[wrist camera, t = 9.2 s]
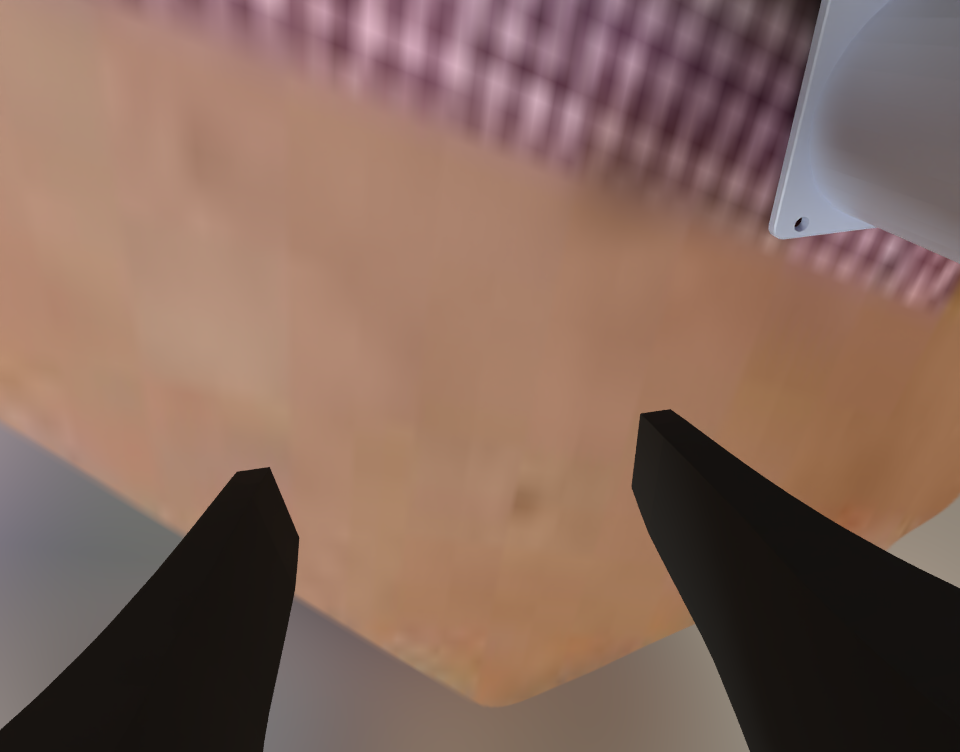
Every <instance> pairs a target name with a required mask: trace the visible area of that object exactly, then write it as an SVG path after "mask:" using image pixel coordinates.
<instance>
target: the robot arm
mask: <svg viewBox="0 0 960 752" xmlns="http://www.w3.org/2000/svg"><path fill="white" fill-rule="evenodd" d="M800 218H802V221H801V223H800V224H799V225H798V226H797V227H795V223H796V221H797V220H799V219H800ZM794 227H795V228H794ZM870 228H880V229H882V230H884V231H887V232H889V233H891V234H893V235H896V236H898V237H900V238H903V239H905V240H907V241H909V242H912V243H914V244H916V245H918V246H921V247H923V248H925V249H928V250H930V251H932V252H934V253H937V254H939V255H941V256H944V257H946V258H948V259H950V260H953V261H955V262H957V263H959V264H960V0H822V1H821V5H820V9H819V14H818V18H817V22H816V26H815V31H814V35H813V39H812V43H811V48H810V52H809V56H808V60H807V65H806V69H805V73H804V77H803V82H802V86H801V90H800V95H799V99H798V103H797V107H796V112H795V116H794V120H793V124H792V129H791V133H790V137H789V141H788V146H787V150H786V154H785V158H784V163H783V167H782V171H781V175H780V180H779V184H778V188H777V192H776V197H775V201H774V205H773V209H772V214H771V218H770V222H769V231H770V234H772V235H773V236H775V237H777V238H778V239H790V238H798V237H806V236H814V235H822V234H830V233H838V232H846V231H854V230H862V229H870ZM632 490H633V492H634V495H635V498H636V501H637V504H638V506H639V509H640V512H641V515H642V517H643V520H644V522H645V525H646V528H647V530H648V533H649V535H650V537H651V539H652V541H653V543H654V545H655V547H656V549H657V551H658V553H659V555H660V557H661V559H662V561H663V562H664V564H665V566H666V568H667V570H668V572H669V574H670V576H671V578H672V580H673V582H674V584H675V586H676V587H677V589H678V591H679V593H680V595H681V597H682V599H683V601H684V603H685V605H686V607H687V609H688V610H689V612H690V614H691V616H692V618H693V620H694V622H695V624H696V626H697V628H698V630H699V631H700V633H701V635H702V637H703V639H704V641H705V644H706V646H707V648H708V650H709V652H710V654H711V656H712V658H713V660H714V663H715V665H716V667H717V670H718V672H719V675H720V677H721V680H722V682H723V685H724V687H725V689H726V692H727V694H728V697H729V699H730V702H731V704H732V707H733V709H734V711H735V714H736V716H737V719H738V722H739V724H740V727H741V729H742V732H743V734H744V737H745V740H746V742H747V745H748V747H749V750H750V752H960V588H958V587H956V586H954V585H952V584H950V583H948V582H946V581H944V580H942V579H940V578H937V577H935V576H933V575H931V574H929V573H927V572H925V571H923V570H921V569H919V568H917V567H915V566H913V565H911V564H909V563H907V562H905V561H903V560H902V559H900V558H897V557H896V556H894V555H892V554H890V553H888V552H887V551H885V550H883V549H881V548H879V547H877V546H876V545H874V544H872V543H870V542H868V541H867V540H865V539H863V538H861V537H859V536H858V535H856V534H854V533H852V532H850V531H849V530H847V529H845V528H843V527H842V526H840V525H838V524H837V523H835V522H833V521H832V520H830V519H828V518H827V517H825V516H823V515H822V514H820V513H819V512H817V511H815V510H814V509H812V508H811V507H809V506H807V505H806V504H804V503H803V502H801V501H800V500H798V499H796V498H795V497H793V496H792V495H790V494H789V493H787V492H786V491H784V490H783V489H781V488H780V487H778V486H777V485H775V484H774V483H772V482H771V481H769V480H768V479H766V478H765V477H763V476H762V475H760V474H759V473H758V472H756V471H755V470H753V469H752V468H750V467H749V466H748V465H746V464H745V463H743V462H742V461H741V460H739V459H738V458H736V457H735V456H734V455H732V454H731V453H729V452H728V451H727V450H725V449H724V448H723V447H721V446H720V445H719V444H717V443H716V442H714V441H713V440H712V439H710V438H709V437H708V436H706V435H705V434H704V433H702V432H701V431H700V430H698V429H697V428H696V427H694V426H693V425H692V424H690V423H689V422H687V421H686V420H685V419H683V418H682V417H681V416H679V415H678V414H676V413H675V412H674V411H672V410H671V409H669V410H662V411H655V412H648V413H641V414H640V421H639V429H638V438H637V446H636V454H635V463H634V471H633V479H632ZM298 548H299V536H298V534H297V531H296V529H295V526H294V524H293V522H292V519H291V517H290V515H289V512H288V510H287V507H286V505H285V503H284V500H283V498H282V495H281V493H280V491H279V488H278V486H277V483H276V481H275V479H274V476H273V474H272V472H271V469H270V467H267V468H260V469H253V470H246V471H239V472H236V474H235V475H234V476H233V477H232V478H231V480H230V481H229V482H228V483H227V485H226V486H225V487H224V488H223V490H222V491H221V492H220V493H219V495H218V496H217V497H216V498H215V500H214V501H213V502H212V503H211V505H210V506H209V507H208V508H207V510H206V511H205V512H204V513H203V515H202V516H201V517H200V518H199V520H198V521H197V522H196V523H195V525H194V526H193V527H192V528H191V530H190V531H189V532H188V533H187V535H186V536H185V537H184V538H183V540H182V541H181V542H180V543H179V544H178V546H177V547H176V548H175V549H174V551H173V552H172V553H171V554H170V555H169V557H168V558H167V559H166V560H165V562H164V563H163V564H162V565H161V566H160V567H159V569H158V570H157V571H156V572H155V574H154V575H153V576H152V577H151V578H150V579H149V580H148V581H147V583H146V584H145V585H144V586H143V587H142V588H141V589H140V590H139V592H138V593H137V594H136V595H135V596H134V597H133V598H132V599H131V601H130V602H129V603H128V604H127V605H126V606H125V607H124V608H123V610H122V611H121V612H120V613H119V614H118V615H117V616H116V617H115V619H114V620H113V621H112V622H111V623H110V624H109V625H108V626H107V627H106V628H105V629H104V630H103V631H102V633H101V634H100V635H99V636H98V637H97V638H96V639H95V640H94V641H93V642H92V643H91V644H90V645H89V646H88V647H87V648H86V649H85V650H84V651H83V652H82V653H81V654H80V655H79V656H78V657H77V658H76V659H75V660H74V661H73V662H72V663H71V664H70V665H69V666H68V667H67V668H66V669H65V670H64V671H63V672H62V673H61V674H60V675H59V676H58V677H57V678H56V679H55V680H54V681H53V682H52V683H51V684H50V685H49V686H48V687H47V688H46V689H45V690H44V691H43V692H42V693H40V694H39V696H37V697H36V698H35V699H34V700H33V701H32V702H31V703H30V704H29V705H28V706H26V707H25V708H24V709H23V710H22V711H21V712H20V713H19V714H18V715H16V716H15V717H14V718H13V719H12V720H11V721H10V722H9V723H8V724H6V725H5V726H4V727H3V728H2V729H1V730H0V752H263V747H264V740H265V734H266V728H267V722H268V716H269V711H270V706H271V702H272V697H273V692H274V687H275V683H276V678H277V673H278V669H279V664H280V659H281V654H282V650H283V645H284V641H285V636H286V631H287V626H288V621H289V616H290V611H291V606H292V602H293V597H294V592H295V584H296V574H297V562H298Z"/></svg>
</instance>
